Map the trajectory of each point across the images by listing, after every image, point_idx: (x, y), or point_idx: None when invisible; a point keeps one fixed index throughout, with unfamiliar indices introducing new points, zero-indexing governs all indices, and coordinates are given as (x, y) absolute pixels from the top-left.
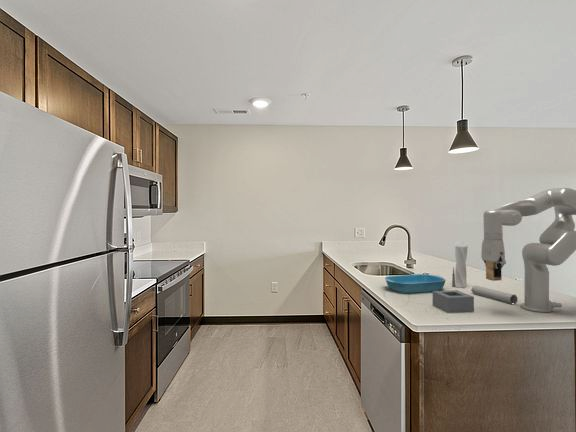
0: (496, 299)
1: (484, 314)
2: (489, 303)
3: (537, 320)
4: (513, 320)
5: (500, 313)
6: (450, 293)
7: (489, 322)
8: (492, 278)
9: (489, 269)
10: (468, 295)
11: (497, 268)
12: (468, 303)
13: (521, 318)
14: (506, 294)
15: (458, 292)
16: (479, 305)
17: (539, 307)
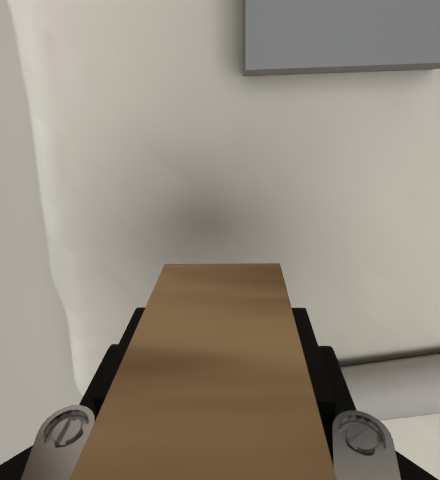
0: (418, 356)
1: (181, 107)
2: (376, 284)
3: (82, 297)
4: (75, 194)
5: (193, 213)
6: None
7: (24, 25)
8: (164, 277)
9: (207, 353)
10: (296, 47)
11: (63, 423)
12: (244, 19)
13: (109, 254)
14: (377, 400)
15: (427, 16)
16: (357, 205)
17: None
